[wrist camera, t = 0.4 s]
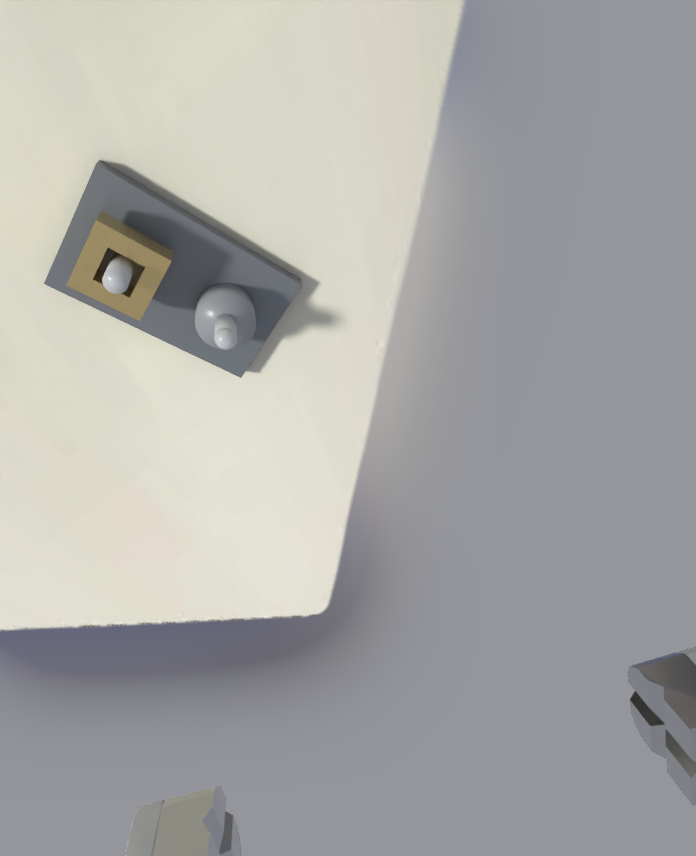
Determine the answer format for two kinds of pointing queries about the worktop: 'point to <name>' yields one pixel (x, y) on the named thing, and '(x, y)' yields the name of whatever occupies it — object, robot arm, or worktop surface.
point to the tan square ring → (131, 246)
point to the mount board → (181, 275)
